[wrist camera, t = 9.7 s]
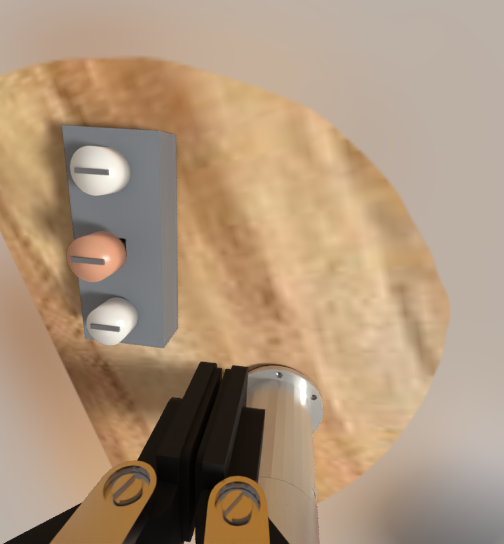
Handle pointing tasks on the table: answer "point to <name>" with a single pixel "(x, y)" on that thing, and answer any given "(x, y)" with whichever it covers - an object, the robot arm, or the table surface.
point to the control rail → (133, 228)
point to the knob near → (100, 170)
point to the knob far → (112, 321)
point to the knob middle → (96, 256)
